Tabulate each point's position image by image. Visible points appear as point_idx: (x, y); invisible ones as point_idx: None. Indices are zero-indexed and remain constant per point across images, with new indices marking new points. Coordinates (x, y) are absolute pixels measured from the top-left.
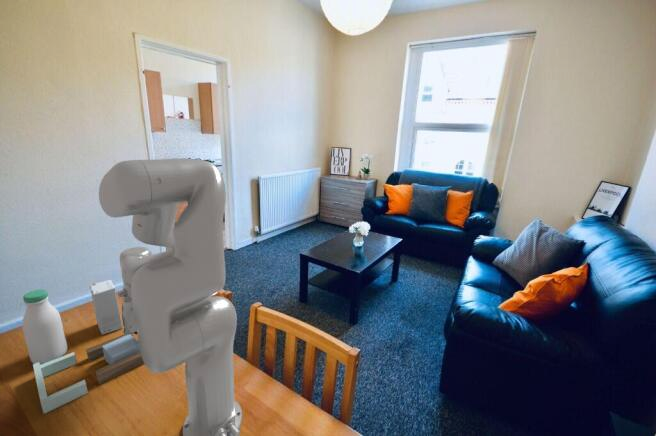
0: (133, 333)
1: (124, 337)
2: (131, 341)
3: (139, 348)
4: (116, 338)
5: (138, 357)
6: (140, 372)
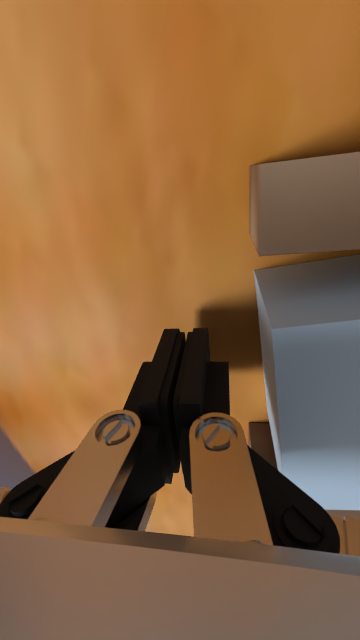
0: (323, 514)
1: (341, 498)
2: (324, 422)
3: (280, 303)
4: (356, 512)
5: (348, 155)
6: (352, 26)
